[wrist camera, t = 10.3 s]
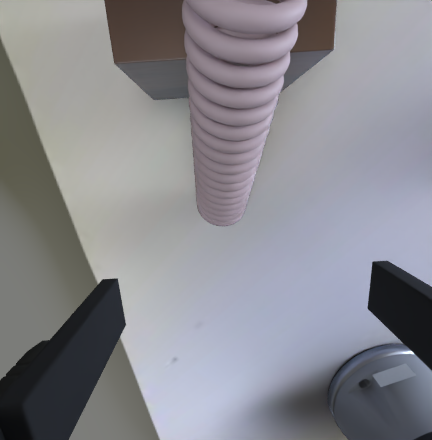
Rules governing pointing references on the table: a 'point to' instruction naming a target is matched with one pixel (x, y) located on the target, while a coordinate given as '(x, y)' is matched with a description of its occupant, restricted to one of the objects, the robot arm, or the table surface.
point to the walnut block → (175, 50)
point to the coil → (234, 93)
